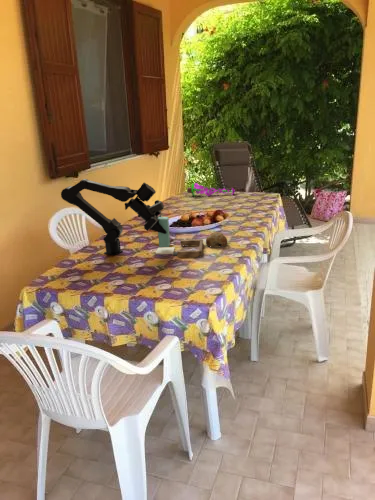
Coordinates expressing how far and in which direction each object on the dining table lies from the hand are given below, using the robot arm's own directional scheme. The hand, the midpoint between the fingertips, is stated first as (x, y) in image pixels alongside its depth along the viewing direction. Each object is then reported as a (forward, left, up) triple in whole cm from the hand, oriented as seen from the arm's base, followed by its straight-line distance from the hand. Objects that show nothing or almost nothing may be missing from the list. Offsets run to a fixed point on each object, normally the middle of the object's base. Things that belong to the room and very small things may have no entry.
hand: (166, 231), depth 197 cm
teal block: (-1, +1, -7) cm, 7 cm away
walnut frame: (+5, -9, -9) cm, 14 cm away
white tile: (-1, +1, -9) cm, 9 cm away
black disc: (-1, -7, -9) cm, 12 cm away
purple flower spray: (+120, +49, -10) cm, 130 cm away
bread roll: (+18, -15, -10) cm, 26 cm away
